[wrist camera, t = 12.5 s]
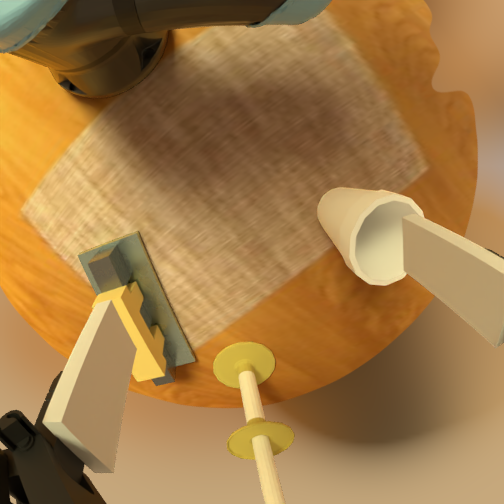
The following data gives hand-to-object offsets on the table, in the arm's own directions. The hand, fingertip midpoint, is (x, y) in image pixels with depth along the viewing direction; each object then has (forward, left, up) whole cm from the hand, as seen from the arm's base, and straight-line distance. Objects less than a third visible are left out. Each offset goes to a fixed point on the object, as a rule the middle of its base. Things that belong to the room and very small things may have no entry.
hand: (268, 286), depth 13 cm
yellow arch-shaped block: (+12, -16, -25) cm, 32 cm away
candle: (+27, -6, -26) cm, 38 cm away
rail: (+12, -17, -26) cm, 33 cm away
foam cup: (+7, +13, -26) cm, 30 cm away
